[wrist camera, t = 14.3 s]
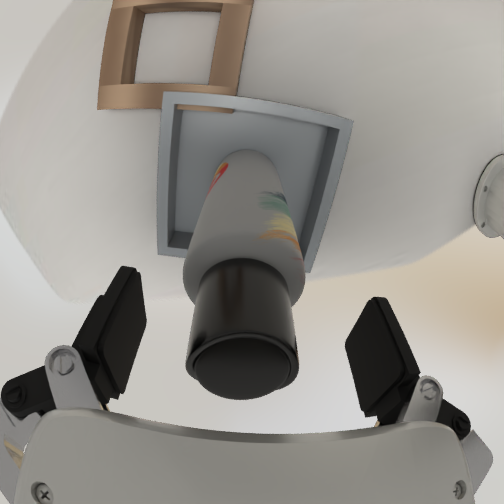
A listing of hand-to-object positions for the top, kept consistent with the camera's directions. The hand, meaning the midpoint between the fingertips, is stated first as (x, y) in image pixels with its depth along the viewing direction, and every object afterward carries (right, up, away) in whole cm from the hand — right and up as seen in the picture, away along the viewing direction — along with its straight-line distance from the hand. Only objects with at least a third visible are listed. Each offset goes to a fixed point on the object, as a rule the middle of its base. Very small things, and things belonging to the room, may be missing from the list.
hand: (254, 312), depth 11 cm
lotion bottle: (-1, +9, +14) cm, 17 cm away
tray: (-1, +10, +15) cm, 18 cm away
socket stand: (-7, +21, +8) cm, 23 cm away
